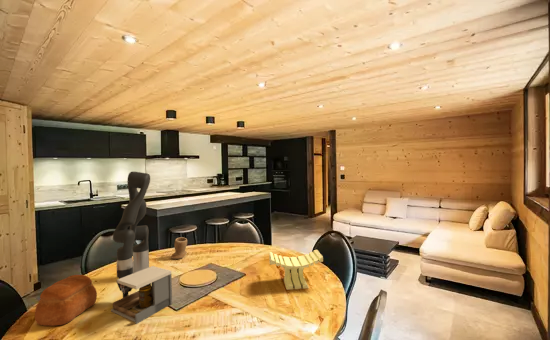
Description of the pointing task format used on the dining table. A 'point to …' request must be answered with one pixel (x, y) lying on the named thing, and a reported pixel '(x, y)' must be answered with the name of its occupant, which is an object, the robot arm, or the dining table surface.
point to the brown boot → (179, 248)
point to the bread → (65, 300)
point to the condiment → (144, 298)
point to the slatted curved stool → (295, 267)
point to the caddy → (127, 304)
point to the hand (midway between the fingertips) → (125, 299)
